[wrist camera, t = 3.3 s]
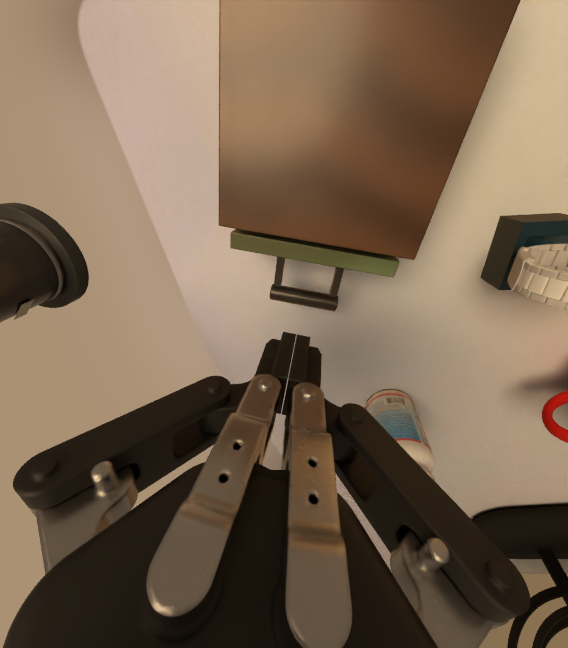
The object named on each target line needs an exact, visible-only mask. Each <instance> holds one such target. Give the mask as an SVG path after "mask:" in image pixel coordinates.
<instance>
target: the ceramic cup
mask: <svg viewBox="0 0 568 648" xmlns="http://www.w3.org/2000/svg"><path fill="white" fill-rule="evenodd" d="M565 403H568V390H567V391H564V392H562V393H560V394H558V395H556V396H554V397H552V398H551V399H550V400H548V401H547V403H546V404H545V405H544V407H543V411H542V420H543V423H544V425H545V427H546V428H547V430H548V431H549V432H550V433H551V434H553V435H554V436H555V437H557V438H559V439H560V440H562V441H565V442H567V443H568V430H566V429H564V428H562V427H561V426H559V425H558V424H557V423H556V422H555V421H554V420H553V417H552V413H553V411H554V410H555V409H556V408H558V407H559V406H561V405H563V404H565Z"/></svg>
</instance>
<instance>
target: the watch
mask: <svg viewBox="0 0 568 648" xmlns="http://www.w3.org/2000/svg"><path fill="white" fill-rule="evenodd" d="M481 278H482V279H484V280H485V281H487V282H488V283H490V284H491V285H492V286H494V287H495V288H497V289H498V290H513V291H518V292H520V293H521V294H522V295H524V296H526V297H530V298H531V299H534V300H536V301H539V302H542V303H545V304H548V305H551V306H555V307H558V308H562V309H563V308H564V307H565V308H564V309H565V310H568V303H567V302H568V288H567V286H568V215H566V214H560V213H553V214H533V215H512V216H500V220H499V223H498V226H497V229H496V232H495V235H494V238H493V241H492V244H491V247H490V250H489V253H488V257H487V260H486V263H485V266H484V269H483V272H482V275H481ZM566 288H567V290H566ZM565 290H566V292H565ZM564 292H565V294H564ZM563 294H564V296H563ZM562 296H563V298H562ZM561 298H562V299H561ZM566 303H567V304H566ZM565 305H566V306H565Z"/></svg>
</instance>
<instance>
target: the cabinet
mask: <svg viewBox="0 0 568 648" xmlns="http://www.w3.org/2000/svg"><path fill="white" fill-rule="evenodd" d="M519 2H520V0H220V30H219V226H224V227H230V228H235V229H241V230H247V231H252V232H258V233H264V234H269V235H275V236H281V237H287V238H292V239H298V240H304V241H309V242H315V243H321V244H326V245H332V246H338V247H344V248H349V249H355V250H361V251H366V252H372V253H378V254H383V255H389V256H395V257H401V258H406V259H412V260H414V259H415V257H416V255H417V252H418V250H419V247H420V245H421V242H422V240H423V237H424V235H425V233H426V230H427V228H428V225H429V223H430V220H431V218H432V215H433V213H434V210H435V208H436V206H437V203H438V201H439V198H440V196H441V193H442V191H443V188H444V186H445V184H446V181H447V179H448V176H449V174H450V171H451V169H452V166H453V164H454V162H455V159H456V157H457V154H458V152H459V149H460V147H461V144H462V142H463V140H464V137H465V135H466V132H467V130H468V127H469V125H470V122H471V120H472V117H473V115H474V113H475V110H476V108H477V105H478V103H479V100H480V98H481V95H482V93H483V91H484V88H485V86H486V83H487V81H488V78H489V76H490V73H491V71H492V69H493V66H494V64H495V61H496V59H497V56H498V54H499V51H500V49H501V47H502V44H503V42H504V39H505V37H506V34H507V32H508V29H509V27H510V25H511V22H512V20H513V17H514V15H515V12H516V10H517V7H518V5H519Z"/></svg>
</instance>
